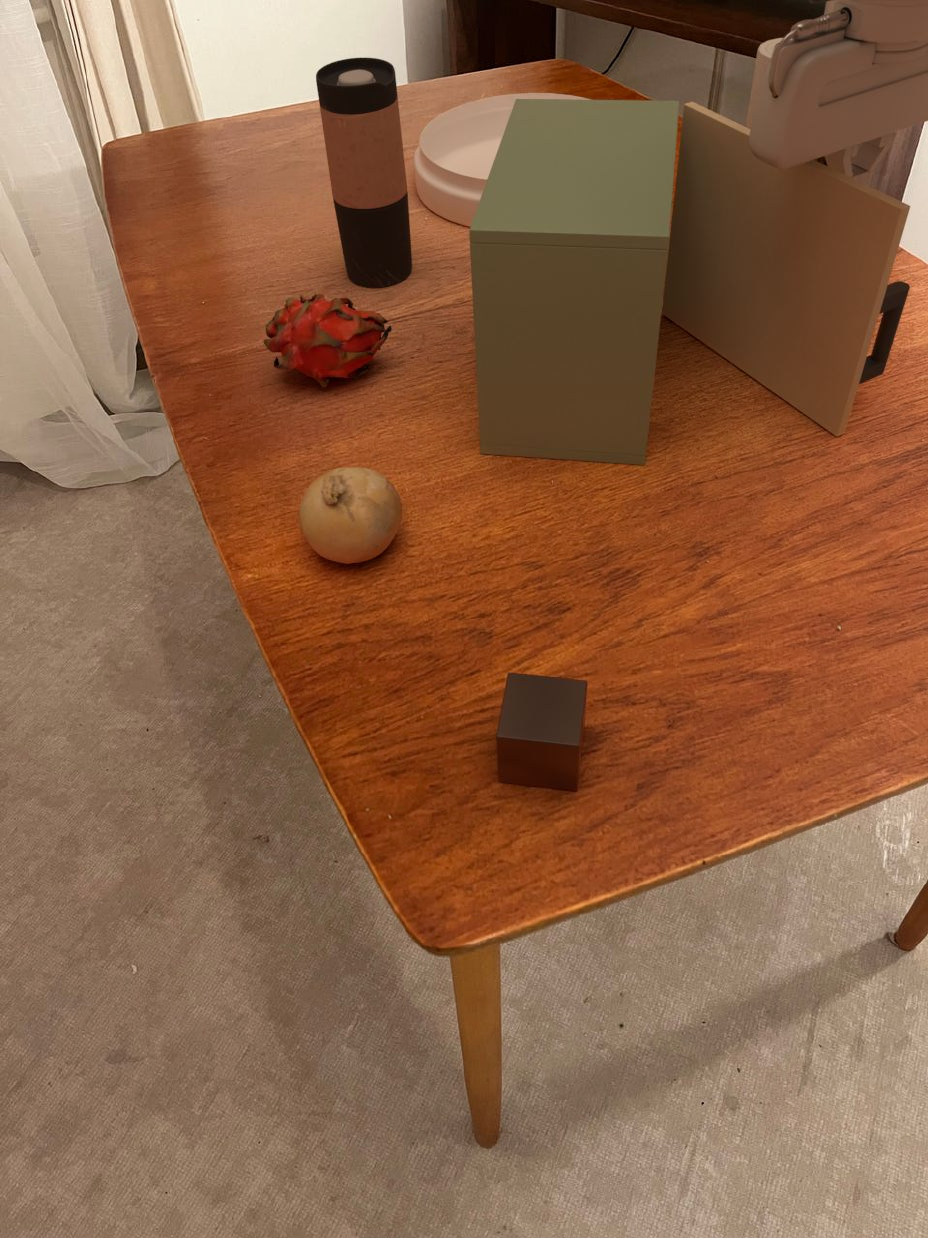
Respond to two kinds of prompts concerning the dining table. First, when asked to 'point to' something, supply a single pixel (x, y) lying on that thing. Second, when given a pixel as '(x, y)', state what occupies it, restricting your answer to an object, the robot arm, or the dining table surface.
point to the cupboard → (572, 278)
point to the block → (541, 731)
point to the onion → (350, 514)
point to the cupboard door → (782, 268)
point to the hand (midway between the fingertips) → (846, 192)
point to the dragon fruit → (325, 337)
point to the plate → (464, 153)
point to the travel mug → (367, 168)
